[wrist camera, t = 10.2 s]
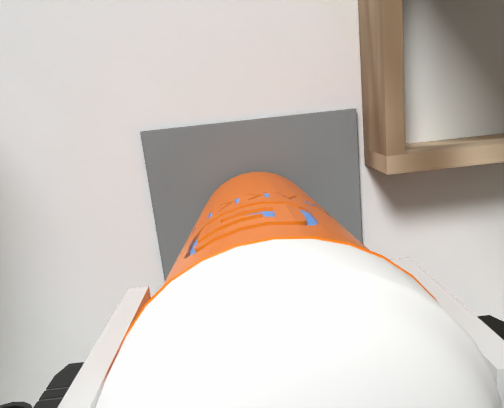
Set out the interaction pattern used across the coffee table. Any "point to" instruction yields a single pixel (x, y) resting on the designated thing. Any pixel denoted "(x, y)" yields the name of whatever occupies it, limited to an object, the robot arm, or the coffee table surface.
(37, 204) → the coffee table surface
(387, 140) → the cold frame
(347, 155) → the slate coaster
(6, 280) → the coffee table surface
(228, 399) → the shaker bottle
